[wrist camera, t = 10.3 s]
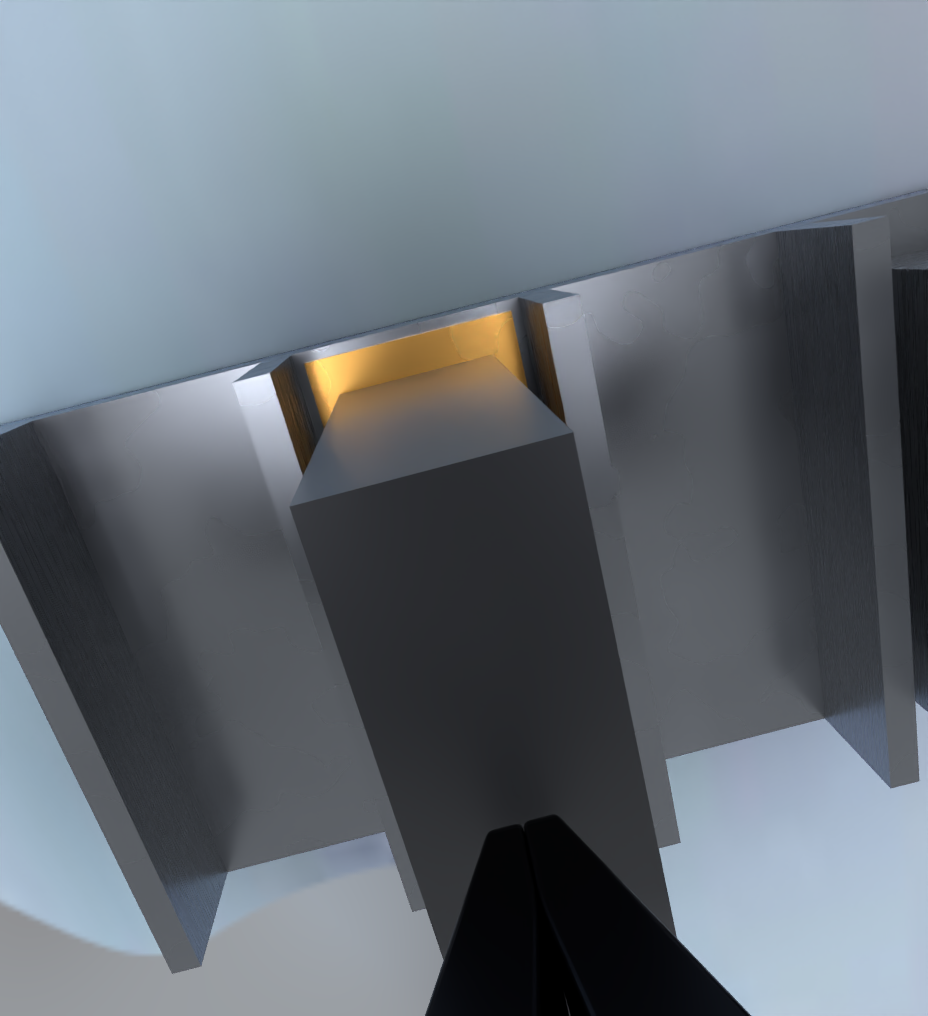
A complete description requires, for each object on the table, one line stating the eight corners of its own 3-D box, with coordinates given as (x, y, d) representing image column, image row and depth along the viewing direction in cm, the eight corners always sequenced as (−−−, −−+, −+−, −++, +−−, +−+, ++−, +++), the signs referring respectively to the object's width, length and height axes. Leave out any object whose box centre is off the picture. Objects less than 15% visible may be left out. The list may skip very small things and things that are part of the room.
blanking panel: (492, 354, 14) (573, 432, 8) (582, 742, 17) (698, 1043, 11) (340, 394, 14) (289, 507, 8) (455, 776, 17) (491, 1097, 11)
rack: (1055, 155, 15) (1449, 91, 10) (1049, 659, 19) (1330, 829, 13) (-9, 427, 15) (-254, 526, 9) (196, 879, 19) (108, 1145, 13)
